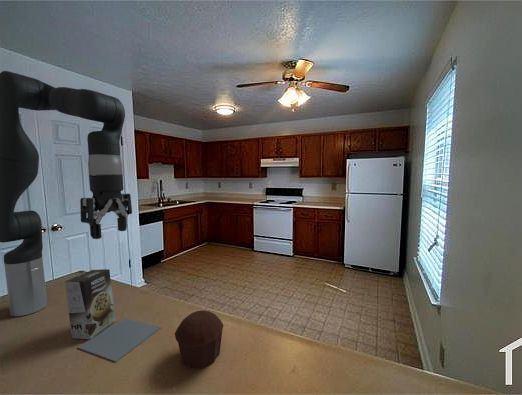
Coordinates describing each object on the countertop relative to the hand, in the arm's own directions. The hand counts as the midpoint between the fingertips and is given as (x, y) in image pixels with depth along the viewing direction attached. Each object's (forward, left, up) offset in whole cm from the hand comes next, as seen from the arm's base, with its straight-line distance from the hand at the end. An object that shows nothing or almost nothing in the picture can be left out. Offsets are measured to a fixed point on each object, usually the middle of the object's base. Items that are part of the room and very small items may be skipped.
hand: (110, 234), depth 66 cm
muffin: (+26, +2, -29) cm, 39 cm away
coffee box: (-9, 0, -28) cm, 30 cm away
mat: (+2, 0, -28) cm, 28 cm away
